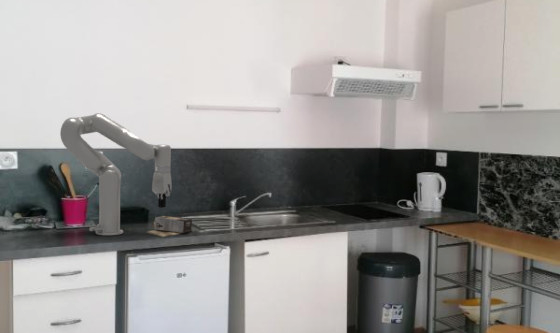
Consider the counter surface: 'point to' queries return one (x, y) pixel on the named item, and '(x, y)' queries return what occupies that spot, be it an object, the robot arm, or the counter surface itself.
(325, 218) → the counter surface
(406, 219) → the counter surface
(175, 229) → the coffee box
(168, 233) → the open book
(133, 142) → the robot arm
